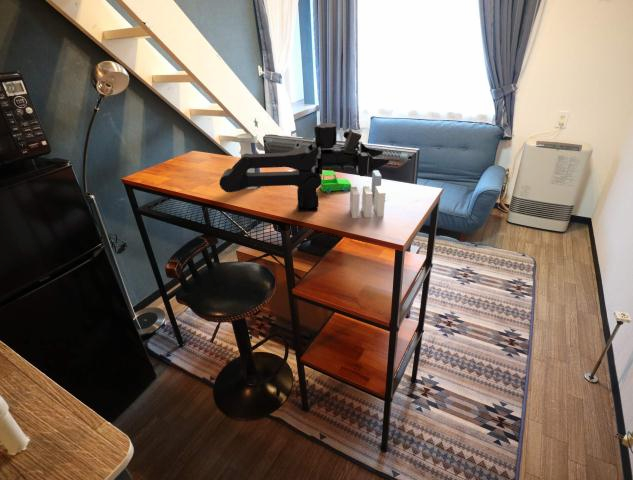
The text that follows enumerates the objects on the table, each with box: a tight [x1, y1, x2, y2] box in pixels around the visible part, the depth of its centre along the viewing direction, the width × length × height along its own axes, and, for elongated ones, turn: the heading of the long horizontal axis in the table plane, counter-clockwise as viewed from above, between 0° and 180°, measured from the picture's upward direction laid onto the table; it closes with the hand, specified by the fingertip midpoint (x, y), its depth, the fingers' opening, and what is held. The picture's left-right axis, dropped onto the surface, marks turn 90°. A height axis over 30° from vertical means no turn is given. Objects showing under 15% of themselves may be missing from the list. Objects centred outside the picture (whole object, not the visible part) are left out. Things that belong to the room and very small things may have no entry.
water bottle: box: [234, 117, 263, 190], centre depth 129 cm, size 8×9×25 cm
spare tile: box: [370, 169, 382, 197], centre depth 123 cm, size 2×6×8 cm, turn 2°
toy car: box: [319, 170, 352, 194], centre depth 129 cm, size 11×7×7 cm, turn 99°
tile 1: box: [349, 186, 360, 219], centre depth 109 cm, size 2×6×8 cm, turn 3°
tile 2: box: [361, 185, 373, 218], centre depth 110 cm, size 2×6×8 cm, turn 3°
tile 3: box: [373, 185, 386, 218], centre depth 110 cm, size 2×6×8 cm, turn 3°
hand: (385, 156), depth 109 cm, fingers open, 9 cm apart
